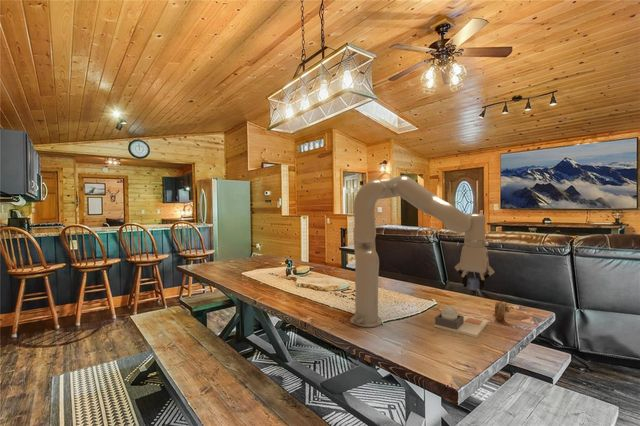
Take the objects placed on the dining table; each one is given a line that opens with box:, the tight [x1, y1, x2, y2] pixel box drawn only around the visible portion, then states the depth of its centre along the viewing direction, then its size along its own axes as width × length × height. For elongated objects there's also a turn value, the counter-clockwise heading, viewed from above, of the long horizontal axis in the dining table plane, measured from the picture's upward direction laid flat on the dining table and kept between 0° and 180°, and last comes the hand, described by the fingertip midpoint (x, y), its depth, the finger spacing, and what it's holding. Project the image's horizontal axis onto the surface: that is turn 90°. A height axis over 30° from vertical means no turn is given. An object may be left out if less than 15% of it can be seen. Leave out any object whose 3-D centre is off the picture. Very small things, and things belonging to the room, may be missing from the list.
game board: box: [434, 311, 489, 338], centre depth 134 cm, size 18×16×4 cm
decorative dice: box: [466, 277, 480, 291], centre depth 133 cm, size 4×4×4 cm
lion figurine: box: [492, 300, 511, 323], centre depth 141 cm, size 15×5×9 cm, turn 164°
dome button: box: [441, 305, 458, 321], centre depth 132 cm, size 6×6×6 cm
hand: (473, 287), depth 133 cm, fingers closed on decorative dice, 5 cm apart
